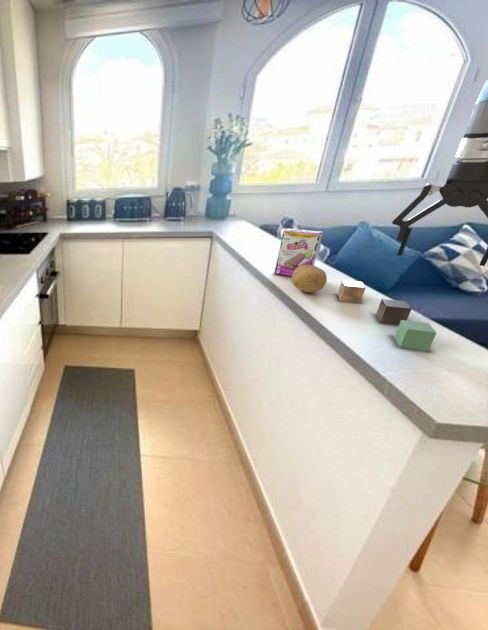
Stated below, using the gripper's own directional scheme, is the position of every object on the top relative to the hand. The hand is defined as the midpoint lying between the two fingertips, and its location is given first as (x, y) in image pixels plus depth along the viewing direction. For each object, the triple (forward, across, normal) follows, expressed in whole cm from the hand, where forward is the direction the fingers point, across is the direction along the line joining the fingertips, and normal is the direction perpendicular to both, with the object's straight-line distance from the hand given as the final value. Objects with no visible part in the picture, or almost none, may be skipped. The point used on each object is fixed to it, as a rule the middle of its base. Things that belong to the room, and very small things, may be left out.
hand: (438, 259), depth 80 cm
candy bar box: (+19, -35, +24) cm, 47 cm away
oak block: (+19, -16, +12) cm, 27 cm away
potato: (+19, -27, +12) cm, 35 cm away
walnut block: (+19, -4, +3) cm, 19 cm away
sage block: (+19, +1, -9) cm, 21 cm away
